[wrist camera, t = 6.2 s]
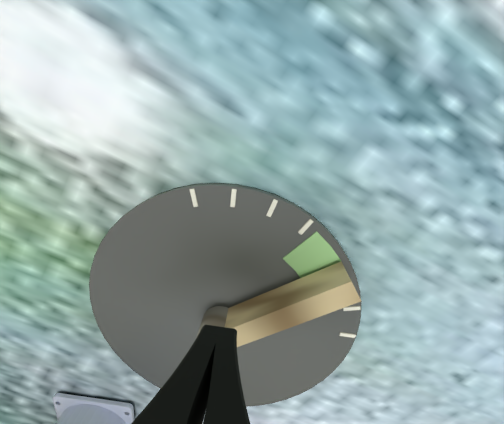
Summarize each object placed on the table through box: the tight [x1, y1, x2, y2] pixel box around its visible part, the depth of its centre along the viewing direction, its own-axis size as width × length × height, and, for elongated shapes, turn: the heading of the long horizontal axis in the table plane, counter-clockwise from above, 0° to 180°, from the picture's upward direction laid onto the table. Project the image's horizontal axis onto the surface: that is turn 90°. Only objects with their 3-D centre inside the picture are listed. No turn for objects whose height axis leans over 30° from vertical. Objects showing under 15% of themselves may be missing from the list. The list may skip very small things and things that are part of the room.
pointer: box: [196, 262, 361, 347], centre depth 17 cm, size 11×3×2 cm, turn 119°
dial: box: [89, 183, 361, 406], centre depth 20 cm, size 21×21×1 cm
